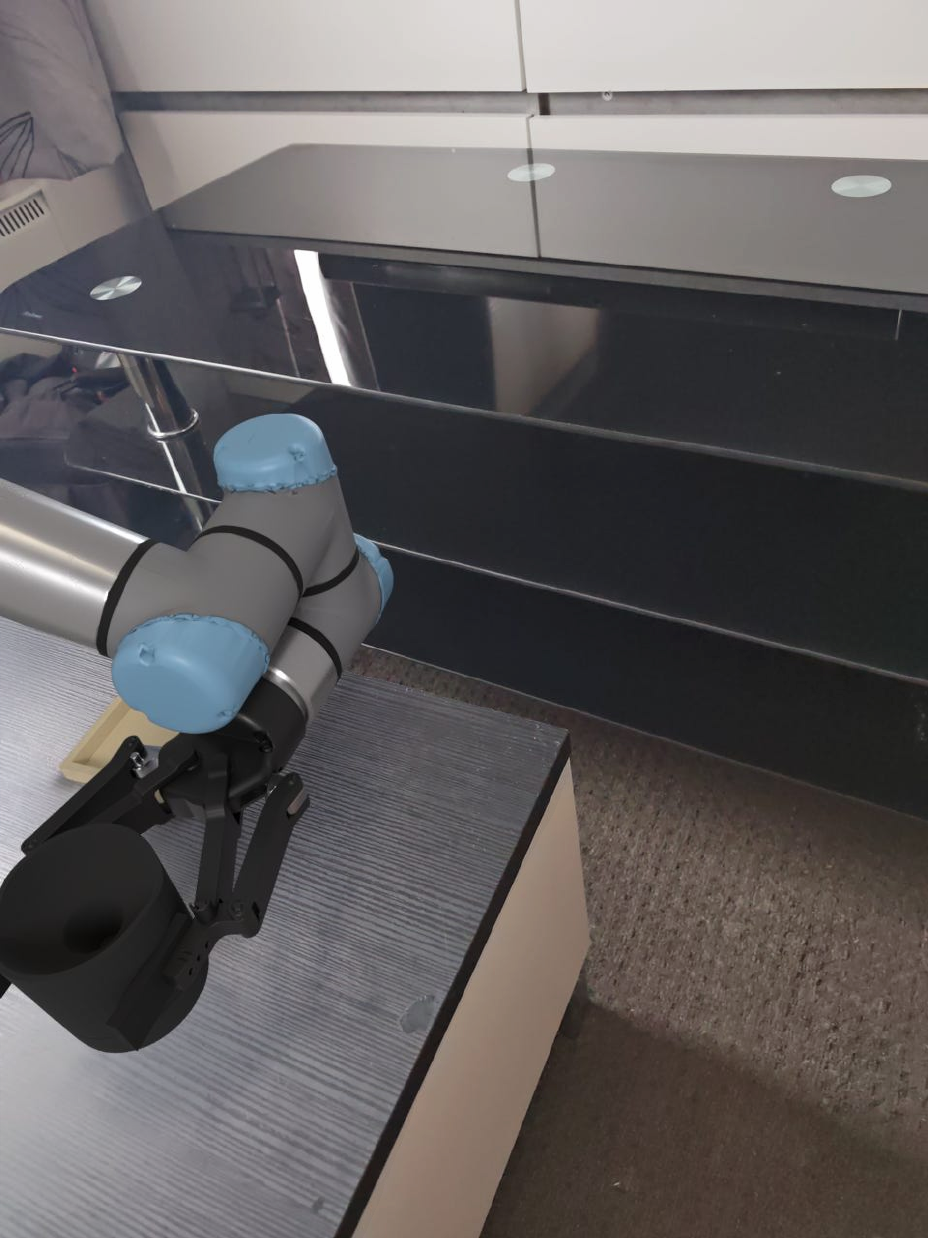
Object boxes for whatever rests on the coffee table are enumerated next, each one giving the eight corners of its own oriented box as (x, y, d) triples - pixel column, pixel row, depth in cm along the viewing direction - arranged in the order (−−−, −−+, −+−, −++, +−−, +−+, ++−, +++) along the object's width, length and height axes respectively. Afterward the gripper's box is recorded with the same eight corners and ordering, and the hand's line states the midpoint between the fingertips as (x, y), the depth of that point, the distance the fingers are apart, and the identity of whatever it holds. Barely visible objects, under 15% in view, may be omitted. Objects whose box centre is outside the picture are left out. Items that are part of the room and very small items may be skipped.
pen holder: (246, 937, 57) (190, 846, 50) (157, 1087, 51) (80, 1006, 44) (129, 897, 61) (62, 807, 54) (32, 1033, 54) (-56, 950, 48)
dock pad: (68, 781, 79) (57, 767, 78) (152, 678, 88) (143, 663, 86) (186, 811, 75) (177, 797, 73) (263, 699, 83) (256, 684, 82)
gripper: (412, 767, 62) (242, 1104, 47) (155, 711, 70) (-60, 986, 55) (390, 692, 57) (192, 1043, 42) (116, 641, 65) (-132, 923, 50)
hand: (50, 1011), depth 49 cm, fingers closed on pen holder, 9 cm apart
